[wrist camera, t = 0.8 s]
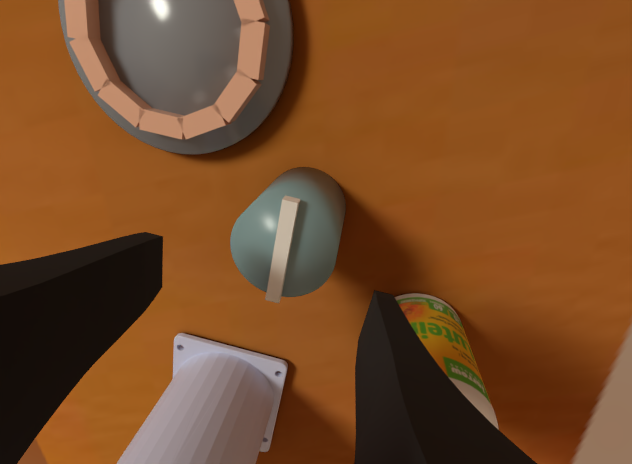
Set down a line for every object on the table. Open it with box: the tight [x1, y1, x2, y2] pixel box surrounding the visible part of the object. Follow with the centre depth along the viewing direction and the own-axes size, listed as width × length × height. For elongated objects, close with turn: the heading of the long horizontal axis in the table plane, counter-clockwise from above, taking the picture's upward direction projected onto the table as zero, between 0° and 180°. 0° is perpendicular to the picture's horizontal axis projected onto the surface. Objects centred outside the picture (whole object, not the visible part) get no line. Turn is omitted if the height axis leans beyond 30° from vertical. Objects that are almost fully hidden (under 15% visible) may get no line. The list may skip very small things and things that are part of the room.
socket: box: [58, 0, 294, 154], centre depth 16 cm, size 11×11×2 cm
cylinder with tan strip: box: [230, 167, 346, 303], centre depth 16 cm, size 5×4×6 cm
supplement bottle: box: [395, 293, 499, 430], centre depth 17 cm, size 5×5×10 cm
